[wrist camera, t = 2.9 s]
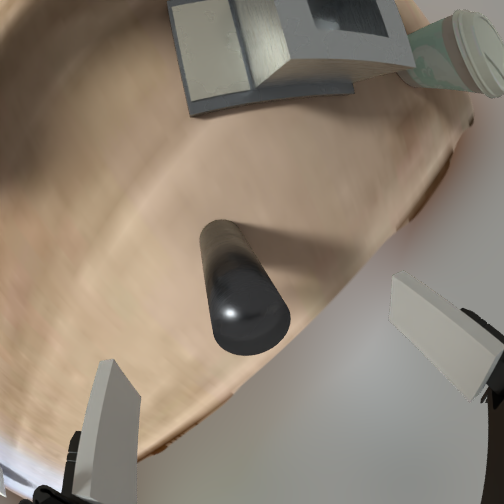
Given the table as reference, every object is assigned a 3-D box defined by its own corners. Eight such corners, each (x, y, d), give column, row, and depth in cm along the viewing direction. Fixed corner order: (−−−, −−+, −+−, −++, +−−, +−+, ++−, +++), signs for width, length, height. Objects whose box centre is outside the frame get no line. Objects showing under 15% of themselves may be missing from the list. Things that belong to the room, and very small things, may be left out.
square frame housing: (190, 117, 19) (190, 93, 10) (167, 7, 14) (161, -56, 6) (347, 95, 20) (419, 81, 12) (319, -2, 16) (372, -44, 7)
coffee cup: (366, 49, 19) (459, 20, 8) (401, 20, 18) (479, -2, 7) (413, 113, 22) (506, 117, 11) (440, 77, 21) (519, 75, 10)
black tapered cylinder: (206, 264, 23) (225, 363, 12) (194, 226, 22) (202, 306, 11) (245, 253, 24) (294, 342, 13) (236, 214, 22) (284, 281, 11)
